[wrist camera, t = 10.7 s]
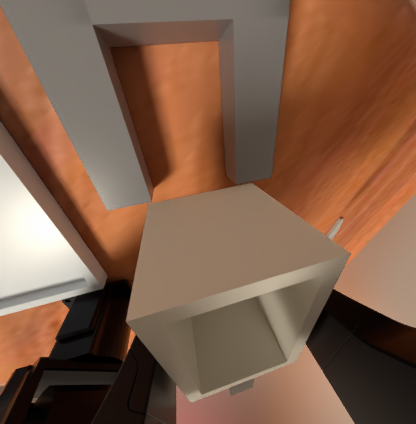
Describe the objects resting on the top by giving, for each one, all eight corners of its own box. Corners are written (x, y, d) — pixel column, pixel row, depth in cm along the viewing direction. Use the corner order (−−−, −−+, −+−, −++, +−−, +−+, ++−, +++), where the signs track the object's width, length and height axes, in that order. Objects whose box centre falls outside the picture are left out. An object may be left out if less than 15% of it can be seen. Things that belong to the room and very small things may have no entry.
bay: (256, 169, 15) (271, 177, 13) (116, 195, 13) (106, 210, 11) (266, -25, 9) (297, -70, 7) (14, -26, 7) (-48, -87, 5)
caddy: (247, 307, 15) (283, 386, 11) (191, 325, 15) (204, 419, 10) (251, 182, 9) (351, 253, 4) (148, 204, 8) (125, 321, 3)
